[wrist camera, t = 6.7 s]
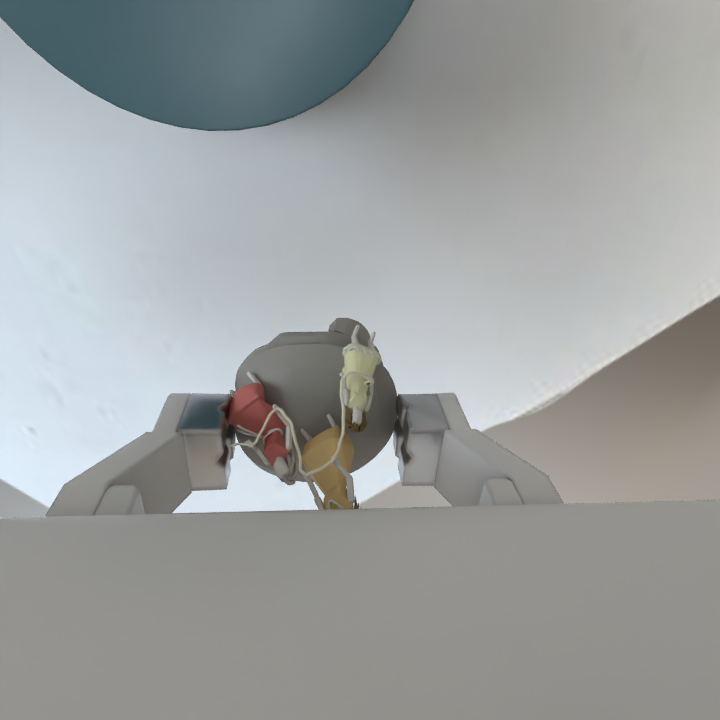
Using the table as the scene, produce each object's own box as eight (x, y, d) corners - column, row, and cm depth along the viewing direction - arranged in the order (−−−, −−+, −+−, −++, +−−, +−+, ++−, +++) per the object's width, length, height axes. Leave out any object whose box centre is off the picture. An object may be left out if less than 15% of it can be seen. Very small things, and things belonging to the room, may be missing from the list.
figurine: (332, 457, 17) (341, 631, 12) (208, 405, 15) (155, 580, 10) (423, 336, 15) (484, 484, 9) (289, 263, 13) (276, 392, 8)
